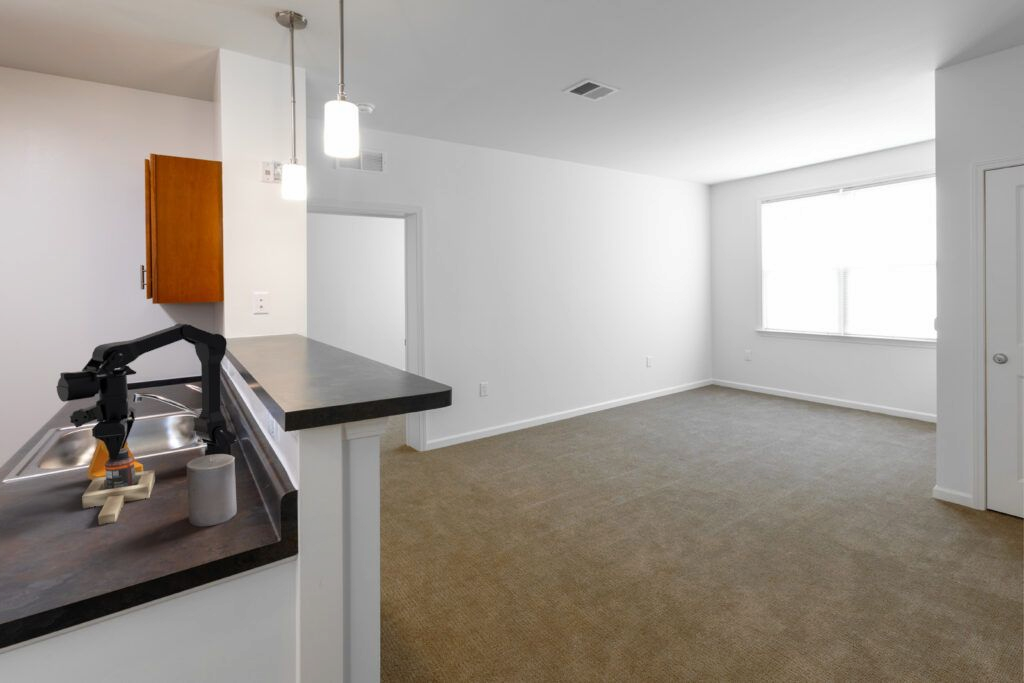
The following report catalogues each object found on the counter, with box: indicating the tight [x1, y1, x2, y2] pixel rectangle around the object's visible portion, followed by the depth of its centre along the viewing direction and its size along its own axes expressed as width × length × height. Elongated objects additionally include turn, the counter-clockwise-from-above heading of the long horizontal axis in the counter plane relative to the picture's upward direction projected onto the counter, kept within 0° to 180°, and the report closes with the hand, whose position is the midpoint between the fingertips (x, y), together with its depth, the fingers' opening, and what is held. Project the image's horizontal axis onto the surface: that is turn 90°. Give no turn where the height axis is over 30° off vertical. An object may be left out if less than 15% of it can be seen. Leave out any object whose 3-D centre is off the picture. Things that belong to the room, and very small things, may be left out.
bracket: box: [86, 439, 144, 482], centre depth 140 cm, size 11×7×12 cm, turn 147°
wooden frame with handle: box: [81, 469, 156, 526], centre depth 125 cm, size 13×25×3 cm, turn 30°
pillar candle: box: [186, 454, 238, 527], centre depth 117 cm, size 10×10×15 cm
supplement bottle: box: [105, 449, 136, 489], centre depth 129 cm, size 6×6×11 cm
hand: (117, 453), depth 129 cm, fingers open, 9 cm apart
